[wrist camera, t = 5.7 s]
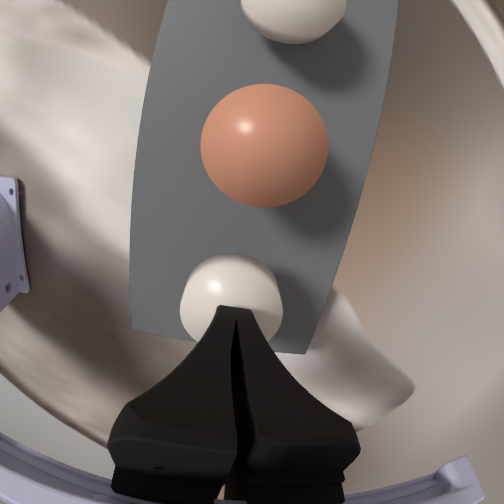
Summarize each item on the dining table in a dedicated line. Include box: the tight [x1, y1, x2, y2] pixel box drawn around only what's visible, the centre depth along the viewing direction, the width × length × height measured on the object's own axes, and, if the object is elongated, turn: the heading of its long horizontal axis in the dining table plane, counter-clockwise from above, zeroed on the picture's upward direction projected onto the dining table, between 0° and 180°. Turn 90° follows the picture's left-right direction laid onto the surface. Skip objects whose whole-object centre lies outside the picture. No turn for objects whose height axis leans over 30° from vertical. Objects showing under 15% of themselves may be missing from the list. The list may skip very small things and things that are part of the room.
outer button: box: [241, 0, 347, 44], centre depth 10 cm, size 4×4×3 cm
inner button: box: [180, 253, 283, 342], centre depth 14 cm, size 4×4×3 cm
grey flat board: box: [130, 0, 399, 354], centre depth 15 cm, size 26×12×2 cm, turn 169°
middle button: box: [201, 84, 328, 208], centre depth 11 cm, size 4×4×3 cm
